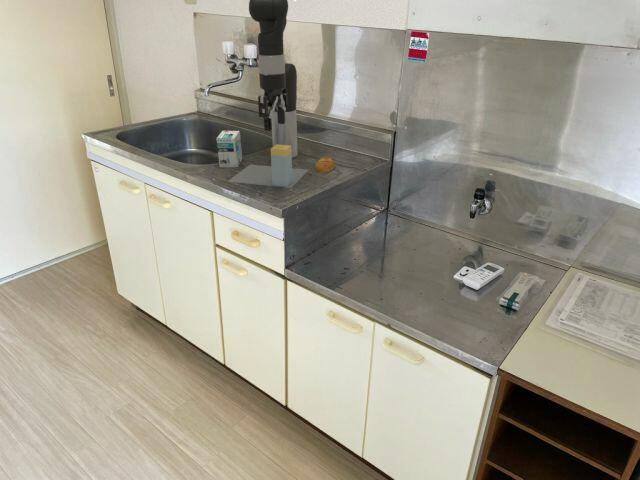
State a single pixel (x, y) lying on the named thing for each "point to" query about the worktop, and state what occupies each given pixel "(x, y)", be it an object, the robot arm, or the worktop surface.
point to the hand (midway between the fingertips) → (275, 127)
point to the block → (281, 165)
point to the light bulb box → (229, 149)
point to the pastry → (325, 165)
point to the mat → (263, 175)
